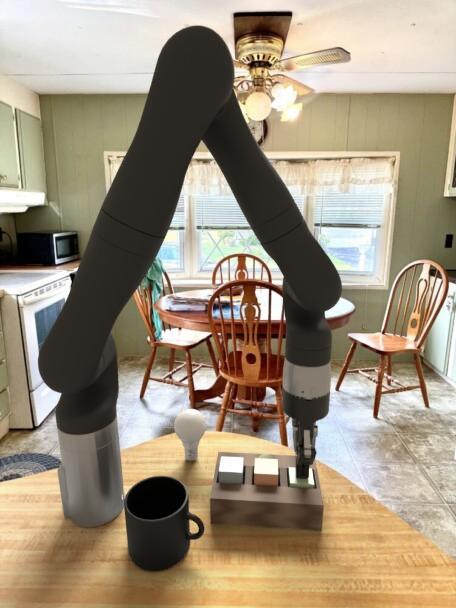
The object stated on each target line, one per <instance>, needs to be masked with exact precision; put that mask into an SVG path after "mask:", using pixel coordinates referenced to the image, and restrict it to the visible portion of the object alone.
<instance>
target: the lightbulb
mask: <svg viewBox="0 0 456 608" xmlns="http://www.w3.org/2000/svg"><path fill="white" fill-rule="evenodd" d="M173 429H174V432H175V435H176V436H177V437H178V439H179V440H180V441H181V443H182V446H183V450H184V459H185V460H186V461H188V462H190V461H191V462H192V461H196V460H197V459H198V457H199V452H198V451H199V445H200V442H201V439H202V437H203V436H205V433H206V429H207V420H206V417H205V416H204V414H203V413H202V412H200V411H199V410H197V409H194V408H187V409H184V410H181V411H180V412H179V414H177V416H176V417H175V420H174V423H173Z"/></svg>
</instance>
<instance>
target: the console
mask: <svg viewBox="0 0 456 608" xmlns="http://www.w3.org/2000/svg"><path fill="white" fill-rule="evenodd" d="M221 456H224V457H243V458H244V479H243V484H227V483H219V467H220V461H221ZM255 458H263V459H278V486H262V485H254V469H255ZM295 464H296V458H295V455H293V454H292V455H288V454H272V453H271V454H268V453H251V452H250V453H249V452H248V453H247V452H234V451H233V452H229V451H217V456H216V462H215V466H214V468H215V469H214V472H213V473H214V474H213V479H212V484H211V489H210V490H211V492H210V496H209V510H210V511H209V514H210V516H209V517H210V518H209V519H210V520H209V521H210V525H211V524H212V525H224V526H225V525H226V526H227V525H228V526H241V527H242V526H243V527H257V528H258V527H259V528H270V529H271V528H272V529H284V530H285V529H288V530H301V531H317V532H318V531H319V532H322V531H323V521H324V518H323V517H324V505H325V504H324V498H323V493H322V489H321V482H320V478H319V477H320V476H319V474H318V473H319V472H318V467H317V462H316V458H315V459H314V462H313V465H310V467H309V468H311V469H312V473H313V479H314V488H297V487H288V475H289V467H292V468H295Z"/></svg>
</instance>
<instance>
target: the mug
mask: <svg viewBox="0 0 456 608" xmlns="http://www.w3.org/2000/svg"><path fill="white" fill-rule="evenodd" d="M124 498H125V499H124V507H123V508H124V518H125V529H126V532H125V533H126V540H127V542H126V543H127V553H128V557H129V558H130V560H131V562H132V563H133V564H134V566H136V567H138V568H139V569H141V570H143V571H146V572H150V573H151V572H153V573H154V572H155V573H156V572H163V571H166V570H169V569H171V568H173V567H175V566H177V565H178V564H180V562H181V561H183V559H184V557H185V556H186V554H187V553H188V551H189V548H190V546H191V541H196V540H199V539H200V538H202V537H203V535H204V534H205V529H206V527H205V524H204V522H203V520H202V519H201V518H200V517H199V516H197V515H196V514H193V513H191V512H190V501H189V499H190V498H189V491H188V488H187V486H186V485H185V484H184V482H182V481H181V480H180V479H178V478H176V477H173V476H170V475H169V476H168V475H155V476H154V475H153V476H150V477H146V478H144V479H142V480H140V481H138V482H137V483H135V484H133V486H131V487H130V488H129V489H128V491H127V492H126V494H125V495H124ZM191 521H192V522H194V523H195V524H196V525H197V528H198V531H197V532H195V533H193V532H191V528H190V527H191V526H190V522H191Z"/></svg>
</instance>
